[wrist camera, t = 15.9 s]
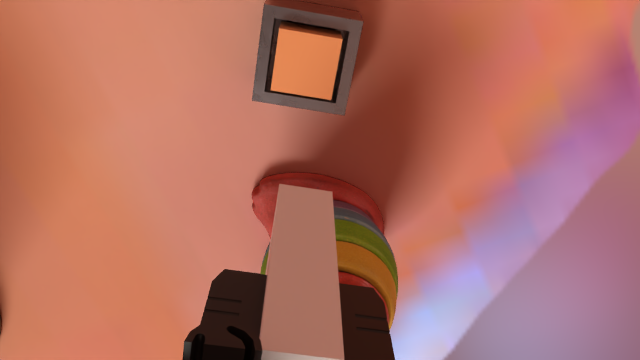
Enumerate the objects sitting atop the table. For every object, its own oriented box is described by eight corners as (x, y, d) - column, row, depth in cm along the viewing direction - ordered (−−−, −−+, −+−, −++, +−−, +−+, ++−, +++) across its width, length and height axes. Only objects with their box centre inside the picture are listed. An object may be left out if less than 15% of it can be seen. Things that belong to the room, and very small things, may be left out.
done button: (273, 79, 37) (270, 90, 34) (281, 21, 35) (279, 28, 33) (330, 88, 37) (331, 100, 35) (340, 31, 35) (342, 39, 33)
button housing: (257, 83, 39) (251, 100, 35) (268, -5, 36) (264, 4, 33) (341, 97, 40) (344, 115, 36) (358, 11, 37) (363, 21, 33)
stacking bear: (247, 175, 42) (207, 335, 26) (381, 161, 42) (424, 314, 26) (268, 291, 47) (246, 488, 31) (389, 280, 46) (430, 473, 30)
